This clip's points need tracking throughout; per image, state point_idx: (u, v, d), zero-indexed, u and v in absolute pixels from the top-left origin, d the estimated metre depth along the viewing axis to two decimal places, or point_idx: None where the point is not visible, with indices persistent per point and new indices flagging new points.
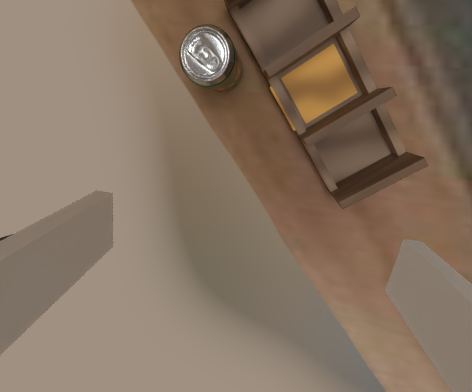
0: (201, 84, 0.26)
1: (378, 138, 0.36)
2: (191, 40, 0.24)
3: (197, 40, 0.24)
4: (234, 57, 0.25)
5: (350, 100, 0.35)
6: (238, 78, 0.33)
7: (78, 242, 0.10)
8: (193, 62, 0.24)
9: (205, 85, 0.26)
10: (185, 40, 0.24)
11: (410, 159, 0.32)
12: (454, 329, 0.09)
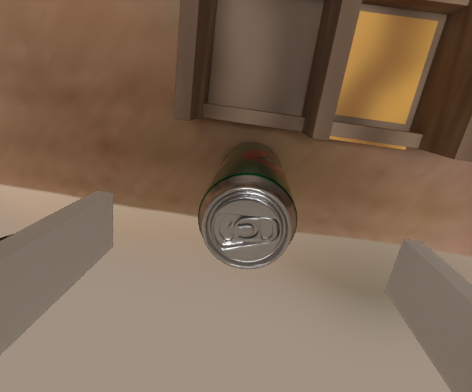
0: None
1: None
2: (213, 233, 0.14)
3: (220, 222, 0.14)
4: (281, 187, 0.14)
5: (437, 39, 0.20)
6: None
7: (78, 242, 0.10)
8: (241, 252, 0.14)
9: None
10: (206, 239, 0.14)
11: None
12: (454, 329, 0.09)
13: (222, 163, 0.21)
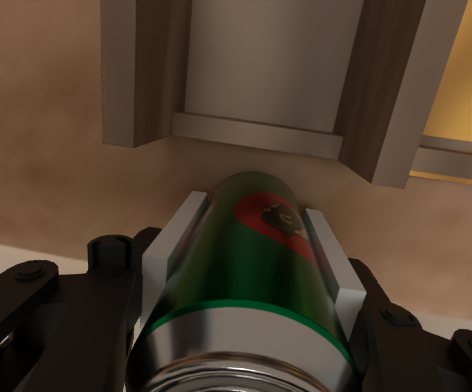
0: None
1: None
2: None
3: None
4: (327, 336, 0.05)
5: None
6: (302, 219, 0.13)
7: None
8: None
9: None
10: None
11: None
12: None
13: (204, 211, 0.13)
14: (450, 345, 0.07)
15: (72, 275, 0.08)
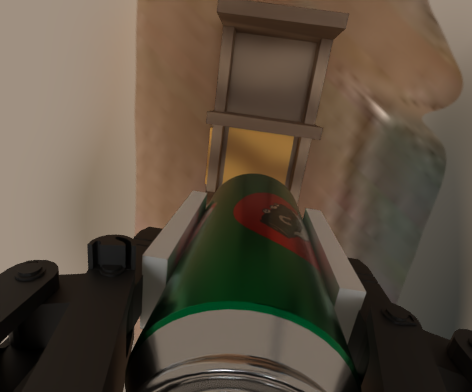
0: None
1: None
2: None
3: None
4: (327, 338, 0.05)
5: None
6: None
7: None
8: None
9: None
10: None
11: None
12: None
13: (204, 212, 0.13)
14: (450, 345, 0.07)
15: (72, 275, 0.08)
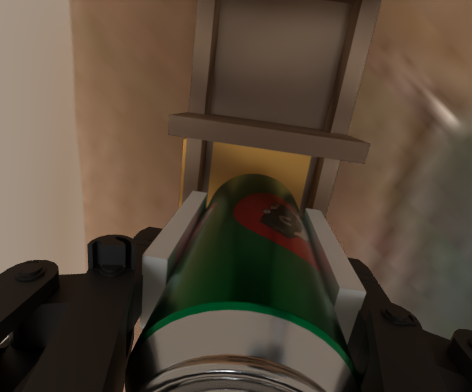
0: None
1: None
2: None
3: None
4: (327, 338, 0.05)
5: None
6: (302, 220, 0.13)
7: None
8: None
9: None
10: None
11: None
12: None
13: (204, 212, 0.13)
14: (450, 345, 0.07)
15: (72, 275, 0.08)
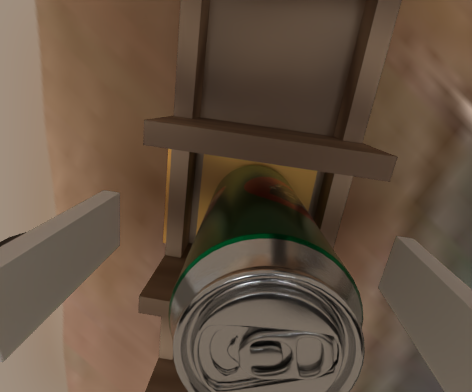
0: None
1: None
2: (198, 361, 0.06)
3: (212, 337, 0.07)
4: (335, 261, 0.07)
5: None
6: None
7: (87, 241, 0.11)
8: None
9: None
10: (184, 372, 0.07)
11: None
12: (443, 323, 0.09)
13: (213, 196, 0.14)
14: None
15: None
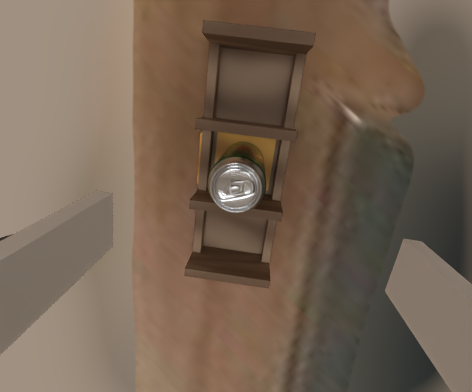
0: (253, 207, 0.24)
1: (259, 236, 0.37)
2: (216, 190, 0.23)
3: (220, 184, 0.23)
4: (256, 164, 0.23)
5: None
6: (263, 158, 0.31)
7: (78, 242, 0.10)
8: (233, 202, 0.23)
9: (256, 204, 0.24)
10: (212, 194, 0.23)
11: (262, 273, 0.34)
12: (454, 329, 0.09)
13: None
14: None
15: None
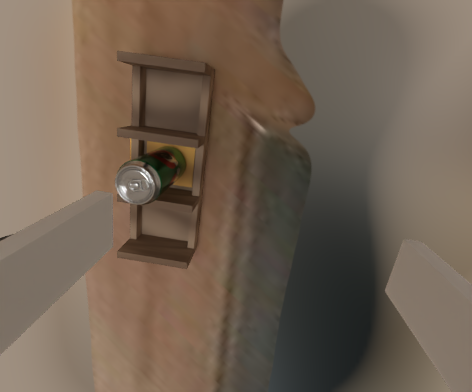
0: (152, 200, 0.31)
1: (188, 226, 0.44)
2: (120, 187, 0.30)
3: (124, 182, 0.30)
4: (152, 166, 0.30)
5: (184, 188, 0.42)
6: (179, 160, 0.38)
7: (78, 242, 0.10)
8: (133, 196, 0.30)
9: (155, 198, 0.31)
10: (118, 190, 0.30)
11: (184, 256, 0.41)
12: (454, 329, 0.09)
13: None
14: None
15: None
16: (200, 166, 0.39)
